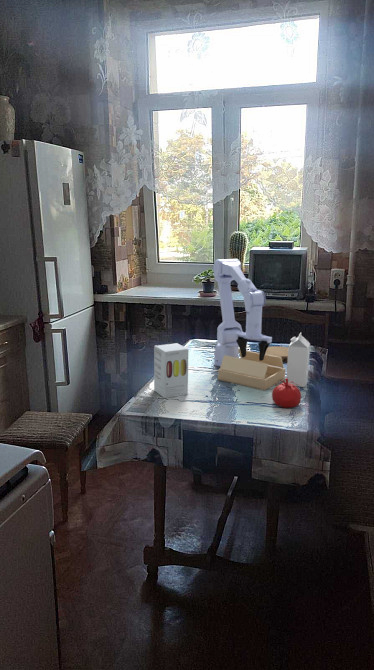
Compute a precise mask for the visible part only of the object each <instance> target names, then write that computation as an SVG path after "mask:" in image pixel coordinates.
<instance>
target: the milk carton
mask: <svg viewBox="0 0 374 670" xmlns="http://www.w3.org/2000/svg"><path fill="white" fill-rule="evenodd" d="M310 347H311V343H310V342H309V340H308V339H306V338H305V337H304V336H303V335H302V332H300V333H299V334H298V336H297V337H296V336H293V337H292V338H290V343H289V345H288V361H287V362H286V363H287V364H286V378H288V383H290V382H291V381H292V382H291V383H290V384H293V385H295V386H296V387H302V388H306V387H307V384H308V379H309V366H310V365H309V364H310V349H311V348H310ZM293 382H294V383H293ZM297 384H298V385H297Z"/></svg>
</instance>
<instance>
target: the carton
mask: <svg viewBox="0 0 374 670" xmlns="http://www.w3.org/2000/svg"><path fill="white" fill-rule="evenodd" d="M285 378H286V368H285V367H284V368H281V367H276V366H271V365H268V367H267V371H266V374H265V378H259V377H254V376H250V375H245V374H241V373H236V372H232V371H227V370H222V369H220V368H219V369H218V370H217V380H218V381H223V382H226V383H231V384H235V385H238V386H243V387H248V388H251V389H256V390H261V391H267V390H269V389H271V388H272V387H273V386H275V384H277V385H278V383H279V384H280V382H282V381H285ZM281 380H282V381H281Z"/></svg>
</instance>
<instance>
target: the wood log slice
mask: <svg viewBox="0 0 374 670" xmlns="http://www.w3.org/2000/svg"><path fill="white" fill-rule="evenodd" d="M265 354H268V355H273V356H278V357H281V358H282V362H283V363H287V361H288V347H286V346H279V345H278V346H277V345H275V346H274V345H273V346H268V348H267V350H266V353H265Z"/></svg>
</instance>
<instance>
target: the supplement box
mask: <svg viewBox="0 0 374 670" xmlns="http://www.w3.org/2000/svg"><path fill="white" fill-rule="evenodd" d="M153 350H154V353H153V354H154V356H153V358H154V361H153V367H154V369H153V370H154V373H153V374H154V375H153V376H154V378H153V380H154V381H153V382H154V383H153V391H154V392H155V393H157V394H158V395H160V396H161V397H162V398H164V399H168V398H175V397H180V396H181V397H182V396H187V395H188V394H189V348H187V347H186V346H184V345H181V344H179V343H177V342H176V343H175V342H174V343H166V344H158V345H157V344H156V345H154V346H153Z"/></svg>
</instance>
